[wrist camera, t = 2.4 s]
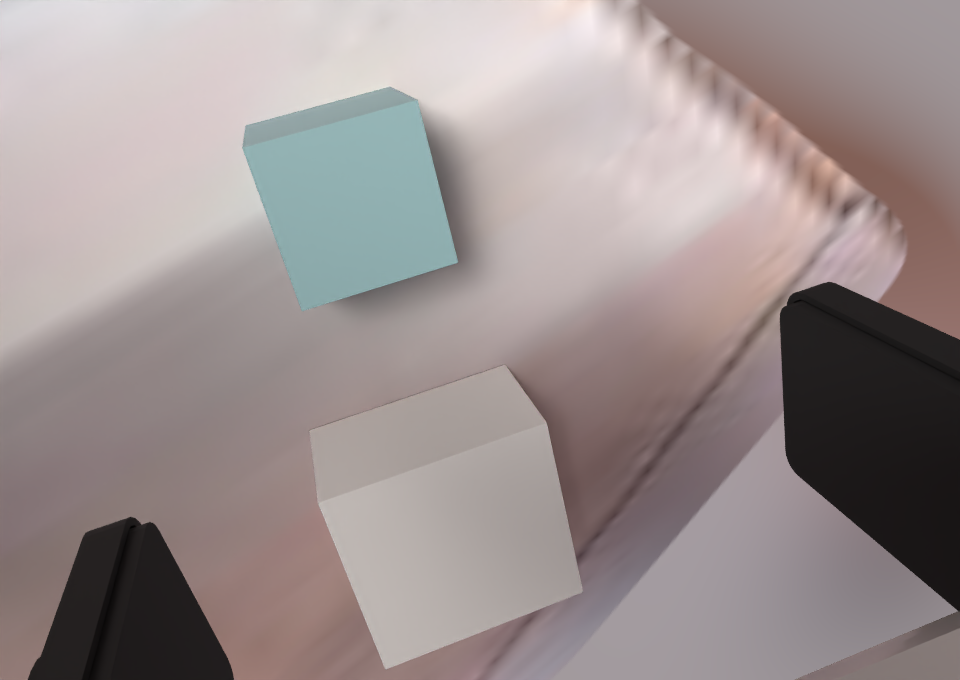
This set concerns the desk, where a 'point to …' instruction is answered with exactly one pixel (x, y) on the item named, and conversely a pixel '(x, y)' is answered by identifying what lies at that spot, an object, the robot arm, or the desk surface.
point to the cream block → (446, 513)
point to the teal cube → (350, 195)
